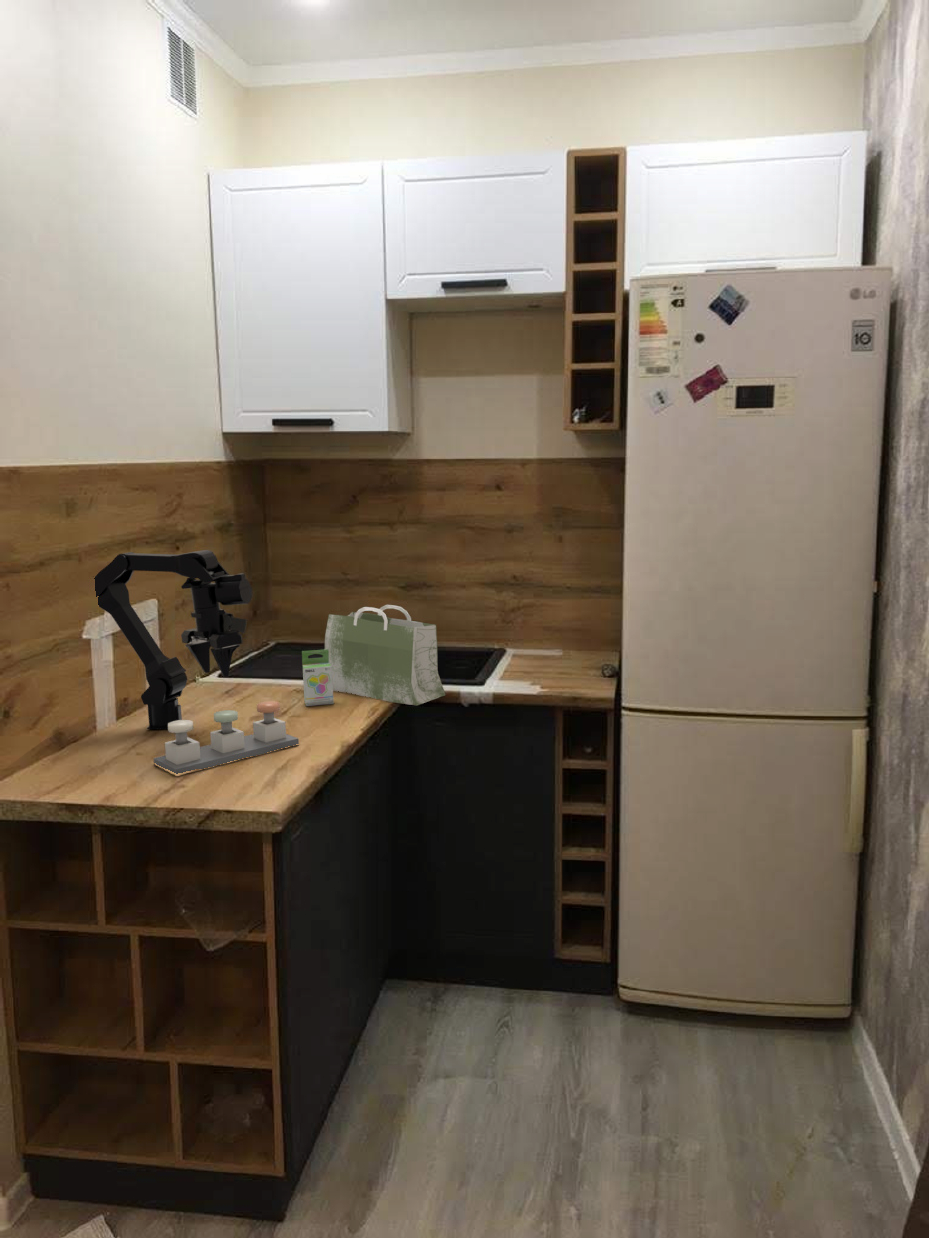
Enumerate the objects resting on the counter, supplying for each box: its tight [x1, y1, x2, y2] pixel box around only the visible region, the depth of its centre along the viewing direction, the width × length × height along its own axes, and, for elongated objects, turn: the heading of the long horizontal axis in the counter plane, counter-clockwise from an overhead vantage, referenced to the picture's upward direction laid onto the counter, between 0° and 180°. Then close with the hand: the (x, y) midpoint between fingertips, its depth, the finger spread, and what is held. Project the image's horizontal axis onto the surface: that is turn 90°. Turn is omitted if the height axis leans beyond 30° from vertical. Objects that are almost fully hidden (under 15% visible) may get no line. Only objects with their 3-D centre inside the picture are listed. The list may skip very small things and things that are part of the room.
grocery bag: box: [324, 604, 446, 706], centre depth 244 cm, size 32×14×23 cm, turn 55°
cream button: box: [167, 719, 194, 746], centre depth 189 cm, size 5×5×5 cm
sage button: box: [213, 709, 239, 735], centre depth 195 cm, size 5×5×5 cm
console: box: [153, 717, 300, 774], centre depth 196 cm, size 10×28×5 cm, turn 132°
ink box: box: [301, 649, 335, 707], centre depth 235 cm, size 7×4×13 cm, turn 105°
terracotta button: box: [256, 700, 281, 725], centre depth 202 cm, size 5×5×5 cm
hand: (216, 674), depth 213 cm, fingers open, 9 cm apart
